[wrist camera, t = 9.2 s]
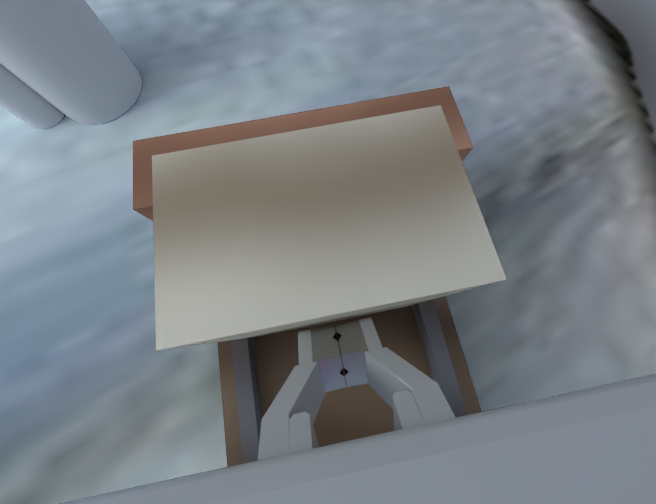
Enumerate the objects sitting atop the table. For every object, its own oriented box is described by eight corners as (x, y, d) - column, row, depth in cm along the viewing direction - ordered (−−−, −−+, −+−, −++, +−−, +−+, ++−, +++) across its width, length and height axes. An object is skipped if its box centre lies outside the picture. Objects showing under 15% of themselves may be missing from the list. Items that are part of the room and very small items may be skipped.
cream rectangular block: (404, 306, 15) (506, 279, 6) (261, 335, 15) (156, 350, 6) (382, 223, 16) (440, 105, 7) (250, 249, 16) (152, 155, 7)
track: (490, 481, 14) (681, 669, 6) (245, 537, 14) (132, 814, 6) (400, 182, 19) (447, 82, 11) (216, 216, 18) (133, 137, 11)
